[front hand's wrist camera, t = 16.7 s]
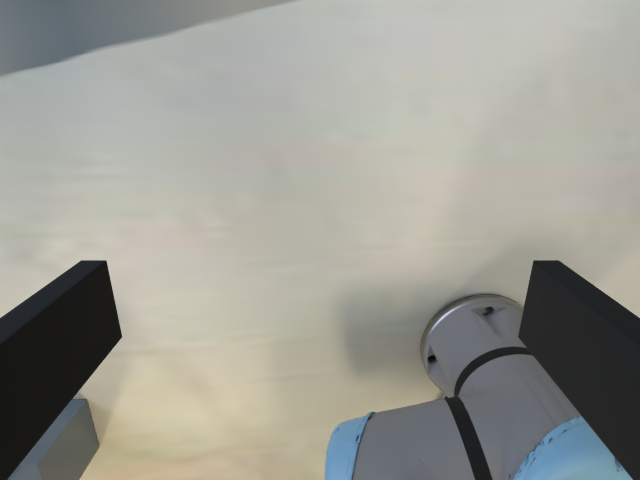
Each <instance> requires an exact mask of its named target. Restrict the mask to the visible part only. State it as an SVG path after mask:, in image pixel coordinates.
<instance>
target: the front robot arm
mask: <svg viewBox="0 0 640 480" xmlns="http://www.w3.org/2000/svg"><path fill="white" fill-rule="evenodd" d="M121 338H122V334H121V329H120V325H119V320H118V315H117V310H116V305H115V300H114V295H113V291H112V286H111V281H110V276H109V271H108V266H107V261H80V262H79V263H77V264H76V265H74V266H73V267H72V268H70V269H69V270H67V271H66V272H65V273H63V274H62V275H60V276H59V277H58V278H56V279H55V280H53V281H52V282H51V283H49V284H48V285H46V286H45V287H44V288H42V289H41V290H39V291H38V292H37V293H35V294H34V295H32V296H31V297H29V298H28V299H27V300H25V301H24V302H22V303H21V304H20V305H18V306H17V307H15V308H14V309H13V310H11V311H10V312H8V313H7V314H6V315H4V316H3V317H1V318H0V480H7V479H8V478H9V477H10V476H11V474H12V473H13V472H14V471H15V469H16V468H17V467H18V466H19V464H20V463H21V462H22V461H23V459H24V458H25V457H26V456H27V454H28V453H29V452H30V451H31V449H32V448H33V447H34V446H35V445H36V443H37V442H38V441H39V440H40V438H41V437H42V436H43V435H44V433H45V432H46V431H47V430H48V428H49V427H50V426H51V425H52V423H53V422H54V421H55V420H56V418H57V417H58V416H59V415H60V413H61V412H62V411H63V410H64V408H65V407H66V406H67V405H68V403H69V402H70V401H71V400H72V399H73V397H74V396H75V395H76V394H77V392H78V391H79V390H80V389H81V387H82V386H83V385H84V384H85V382H86V381H87V380H88V379H89V377H90V376H91V375H92V374H93V372H94V371H95V370H96V369H97V367H98V366H99V365H100V364H101V362H102V361H103V360H104V359H105V357H106V356H107V355H108V354H109V353H110V351H111V350H112V349H113V348H114V346H115V345H116V344H117V343H118V341H119V340H120V339H121ZM421 357H422V361H423V364H424V366H425V369H426V372H427V374H428V376H429V377H430V379H431V380H432V382H433V383H434V384H435V385H436V386H437V387H438V388H439V389H440V390H441V391H442V392H443V393H444V394H445V395H446V397H445V398H444V399H439V400H435V401H430V402H426V403H421V404H417V405H412V406H408V407H403V408H398V409H393V410H388V411H383V412H378V413H376V412H370V413H368V414H367V415H366V416H363V417H360V418H356V419H352V420H348V421H345V422H342V423H341V424H339V425H338V426H337V427H336V428H335V429H334V431H333V433H332V435H331V438H330V440H329V443H328V448H327V455H326V466H325V480H640V318H639V317H637V316H636V315H634V314H633V313H632V312H630V311H629V310H627V309H626V308H625V307H623V306H622V305H620V304H619V303H618V302H616V301H615V300H613V299H612V298H611V297H609V296H608V295H606V294H605V293H603V292H602V291H601V290H599V289H598V288H596V287H595V286H594V285H592V284H591V283H589V282H588V281H587V280H585V279H584V278H582V277H581V276H580V275H578V274H577V273H575V272H574V271H573V270H571V269H570V268H568V267H567V266H566V265H564V264H563V263H561V262H560V261H533V266H532V271H531V276H530V281H529V286H528V291H527V295H526V300H525V305H524V308H523V307H521V306H520V305H519V304H517V303H516V302H514V301H512V300H510V299H508V298H505V297H501V296H497V295H475V296H470V297H466V298H463V299H460V300H458V301H455V302H453V303H451V304H450V305H448V306H446V307H445V308H444V309H442V310H441V311H440V312H439V313H438V314H437V315H436V316H435V317H434V318H433V319H432V320H431V321H430V323H429V324H428V326H427V328H426V329H425V332H424V334H423V337H422V341H421Z"/></svg>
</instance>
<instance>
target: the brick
mask: <svg viewBox="0 0 640 480" xmlns="http://www.w3.org/2000/svg"><path fill="white" fill-rule="evenodd" d="M98 448H99V444H98V440H97V436H96V432H95V429H94V425H93V421H92V417H91V413H90V409H89V406H88V402H87V399H72V400H71V401H70V402H69V403H68V405H67V406H66V407H65V408H64V410H63V411H62V412H61V413H60V415H59V416H58V417H57V418H56V420H55V421H54V422H53V423H52V425H51V426H50V427H49V428H48V430H47V431H46V432H45V433H44V435H43V436H42V437H41V438H40V440H39V441H38V442H37V443H36V445H35V446H34V447H33V448H32V449H31V451H30V452H29V453H28V454H27V456H26V457H25V458H24V459H23V461H22V462H21V463H20V464H19V466H18V467H17V468H16V469H15V471H14V472H13V473H12V474H11V476H10V477H9V478H8V479H7V480H79V479H80V478H81V476H82V474H83V473H84V471H85V469H86V468H87V466H88V465H89V463H90V461H91V460H92V458H93V457H94V455H95V453H96V452H97V450H98Z"/></svg>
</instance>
